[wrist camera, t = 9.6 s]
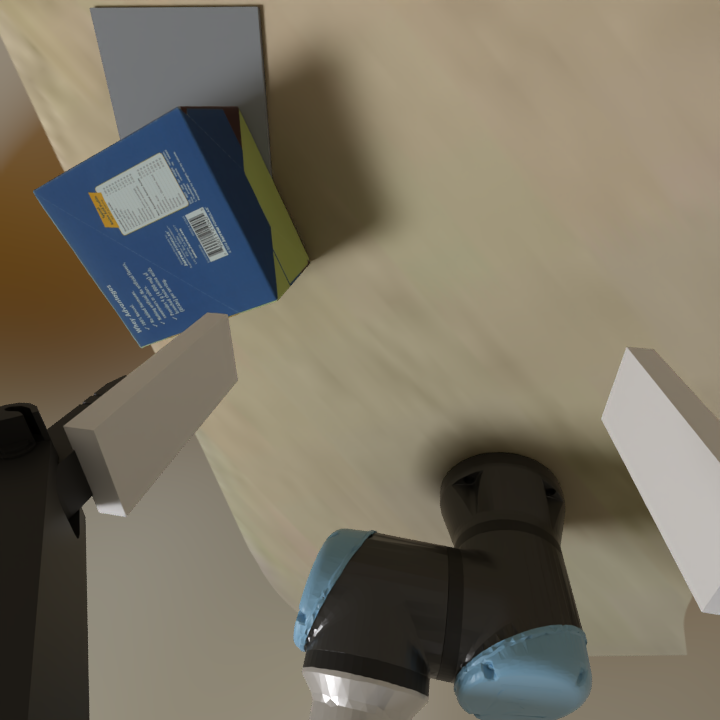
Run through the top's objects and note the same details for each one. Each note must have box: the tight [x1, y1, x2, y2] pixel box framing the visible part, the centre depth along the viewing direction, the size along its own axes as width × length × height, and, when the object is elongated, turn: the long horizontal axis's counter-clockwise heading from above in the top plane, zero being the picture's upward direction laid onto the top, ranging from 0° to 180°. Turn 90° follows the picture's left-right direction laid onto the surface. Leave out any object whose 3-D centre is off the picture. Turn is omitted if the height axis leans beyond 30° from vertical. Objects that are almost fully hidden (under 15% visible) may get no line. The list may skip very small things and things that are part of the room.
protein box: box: [33, 106, 310, 348], centre depth 39 cm, size 10×15×16 cm
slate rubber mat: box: [90, 7, 272, 178], centre depth 41 cm, size 22×15×1 cm
